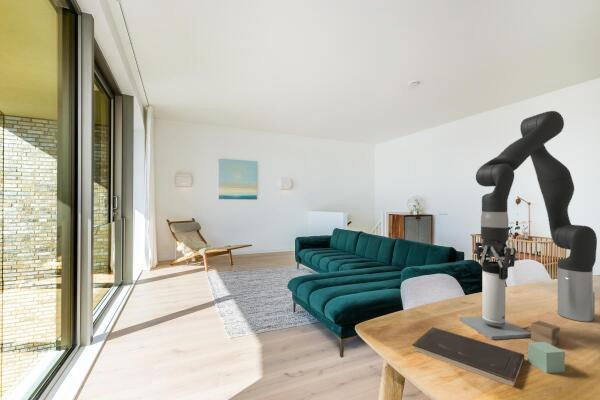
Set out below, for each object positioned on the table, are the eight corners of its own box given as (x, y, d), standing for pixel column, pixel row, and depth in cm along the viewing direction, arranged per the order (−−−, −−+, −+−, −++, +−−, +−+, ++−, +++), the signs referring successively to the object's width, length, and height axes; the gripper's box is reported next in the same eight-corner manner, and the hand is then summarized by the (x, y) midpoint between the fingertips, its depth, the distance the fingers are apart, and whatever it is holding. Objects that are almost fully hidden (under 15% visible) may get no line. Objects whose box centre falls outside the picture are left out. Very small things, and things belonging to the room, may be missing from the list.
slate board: (495, 318, 102) (495, 315, 102) (532, 337, 88) (532, 333, 88) (459, 320, 100) (459, 317, 100) (491, 339, 86) (491, 336, 86)
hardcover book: (514, 390, 64) (514, 380, 64) (412, 352, 80) (412, 344, 80) (524, 362, 75) (524, 353, 75) (433, 333, 92) (433, 326, 92)
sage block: (545, 360, 75) (545, 341, 75) (564, 372, 70) (564, 351, 70) (527, 362, 75) (527, 342, 75) (546, 373, 70) (546, 352, 70)
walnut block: (539, 336, 89) (539, 320, 89) (559, 343, 84) (559, 326, 84) (530, 340, 87) (530, 323, 87) (551, 347, 82) (551, 330, 82)
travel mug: (510, 327, 91) (510, 264, 91) (487, 325, 92) (487, 263, 92) (500, 319, 97) (501, 260, 97) (479, 317, 98) (479, 259, 98)
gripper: (524, 227, 88) (524, 282, 88) (487, 223, 102) (487, 270, 102) (502, 227, 87) (502, 283, 87) (468, 223, 101) (468, 271, 101)
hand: (494, 276), depth 94 cm, fingers closed on travel mug, 6 cm apart
